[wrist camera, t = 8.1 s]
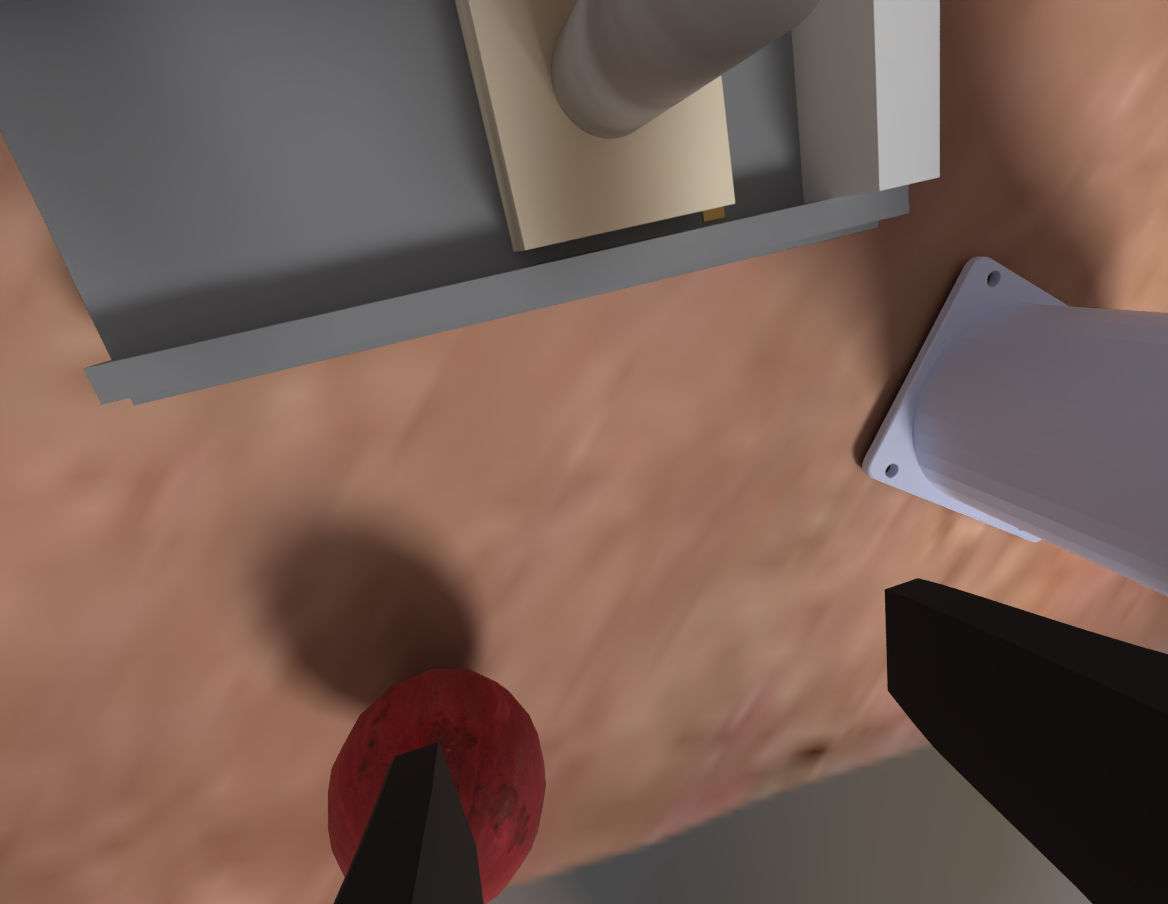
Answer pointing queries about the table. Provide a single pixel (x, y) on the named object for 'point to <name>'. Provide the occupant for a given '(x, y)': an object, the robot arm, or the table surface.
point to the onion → (448, 765)
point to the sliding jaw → (610, 105)
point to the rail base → (393, 172)
